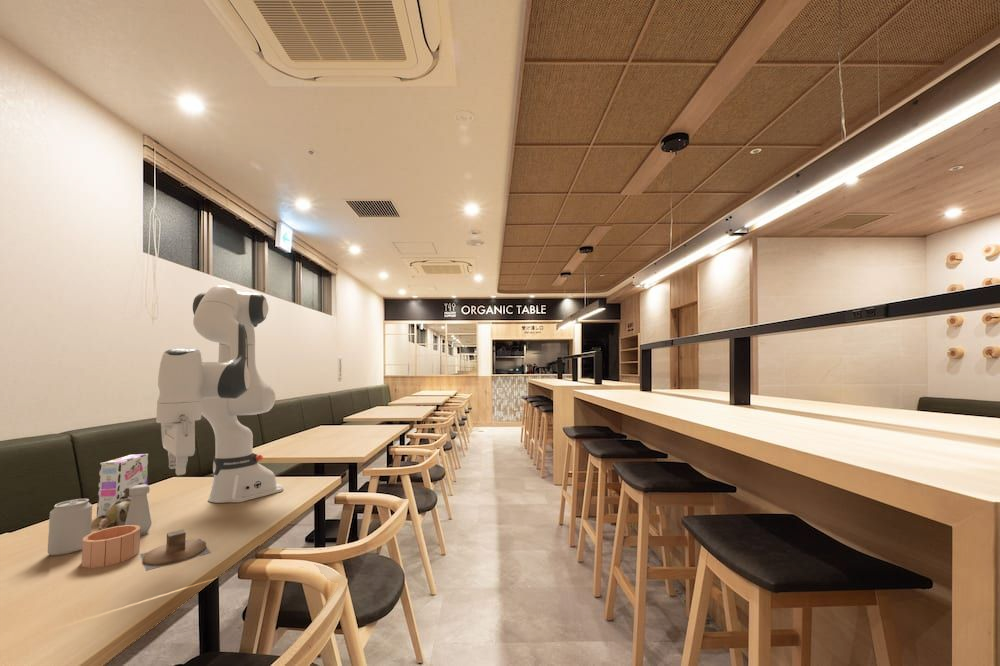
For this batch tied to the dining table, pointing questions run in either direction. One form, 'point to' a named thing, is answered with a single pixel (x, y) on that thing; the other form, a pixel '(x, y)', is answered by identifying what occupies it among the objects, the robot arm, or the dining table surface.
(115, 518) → the ceramic sculpture
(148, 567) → the mat
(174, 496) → the dining table surface
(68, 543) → the can
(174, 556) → the lid
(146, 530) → the salt shaker
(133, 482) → the candy box
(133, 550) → the bowl
